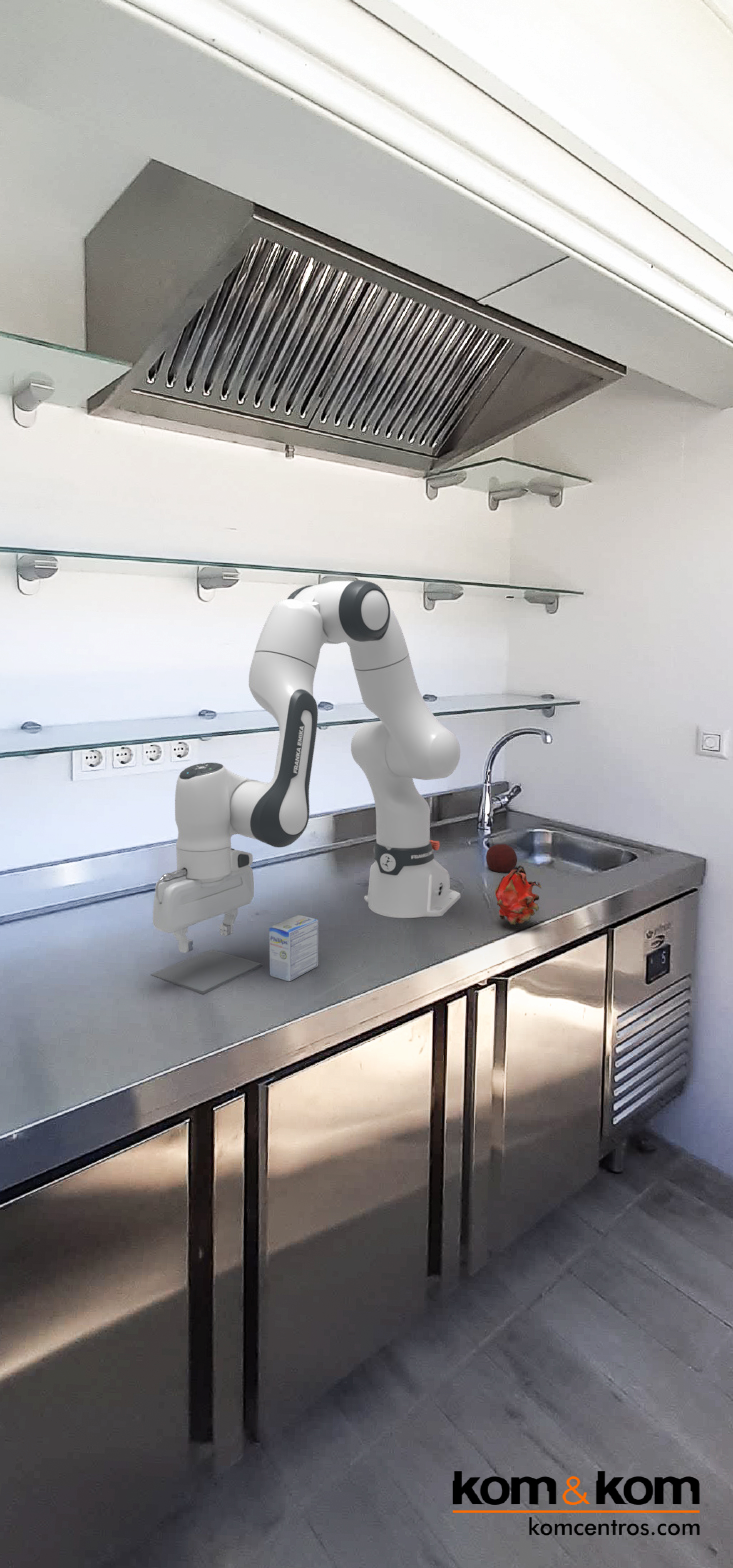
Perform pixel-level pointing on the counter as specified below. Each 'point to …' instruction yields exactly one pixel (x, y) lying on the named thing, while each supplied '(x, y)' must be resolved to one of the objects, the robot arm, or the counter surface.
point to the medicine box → (293, 947)
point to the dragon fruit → (516, 897)
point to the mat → (207, 971)
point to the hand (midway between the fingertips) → (206, 942)
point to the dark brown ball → (501, 858)
